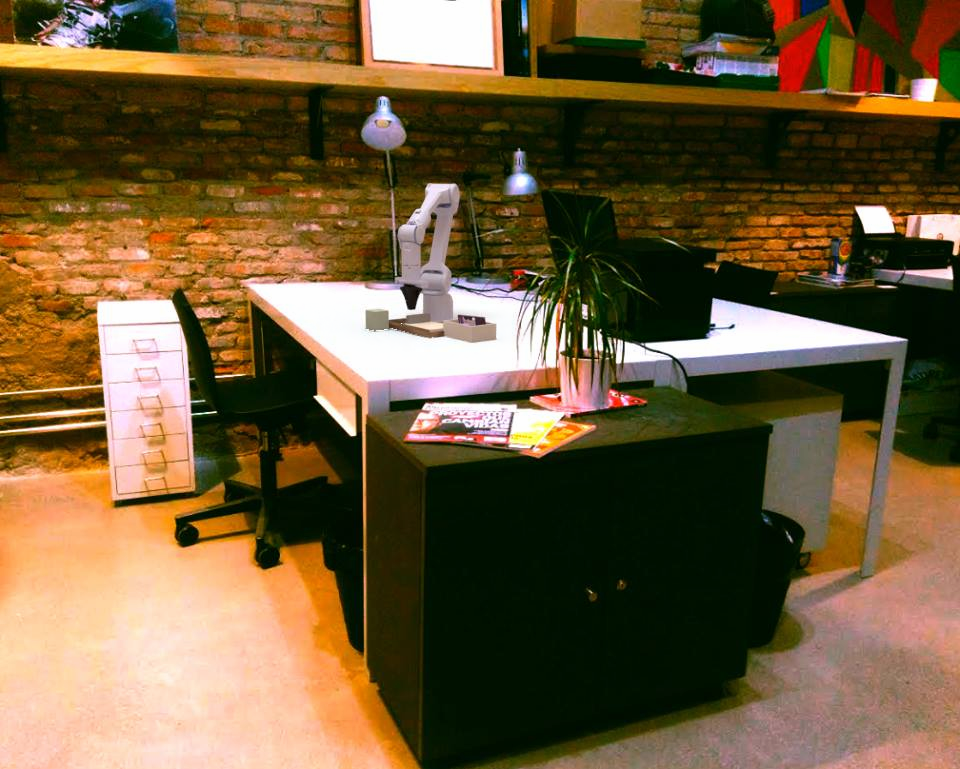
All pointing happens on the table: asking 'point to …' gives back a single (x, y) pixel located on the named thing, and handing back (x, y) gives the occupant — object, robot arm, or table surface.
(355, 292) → the table surface
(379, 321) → the sage block
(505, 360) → the table surface
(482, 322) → the black piece
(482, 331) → the beige open box
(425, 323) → the lid
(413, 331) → the board
